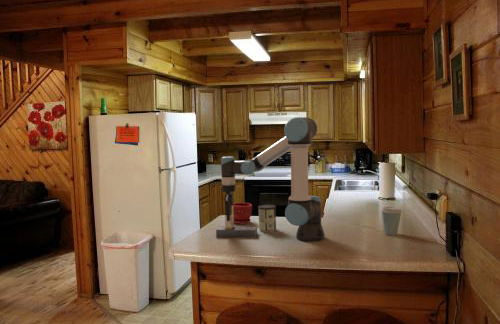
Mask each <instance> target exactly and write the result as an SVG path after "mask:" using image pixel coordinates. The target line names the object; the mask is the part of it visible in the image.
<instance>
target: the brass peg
mask: <svg viewBox="0 0 500 324" xmlns="http://www.w3.org/2000/svg"><path fill="white" fill-rule="evenodd" d="M224 217H225V219H224V221H225V223H224V224H225V225H224V226H226V215H225V214H224ZM234 226H235V223H234V213H233V205H231V227H226V229H234Z"/></svg>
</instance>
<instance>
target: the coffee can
mask: <svg viewBox="0 0 500 324" xmlns="http://www.w3.org/2000/svg"><path fill="white" fill-rule="evenodd" d="M276 207H277V206H276V205H274V204H261V205H258V206H257V208H258V231H259V232H264V233H269V232H270V233H271V232H275V231H277V215H276V213H277V211H276Z"/></svg>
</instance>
